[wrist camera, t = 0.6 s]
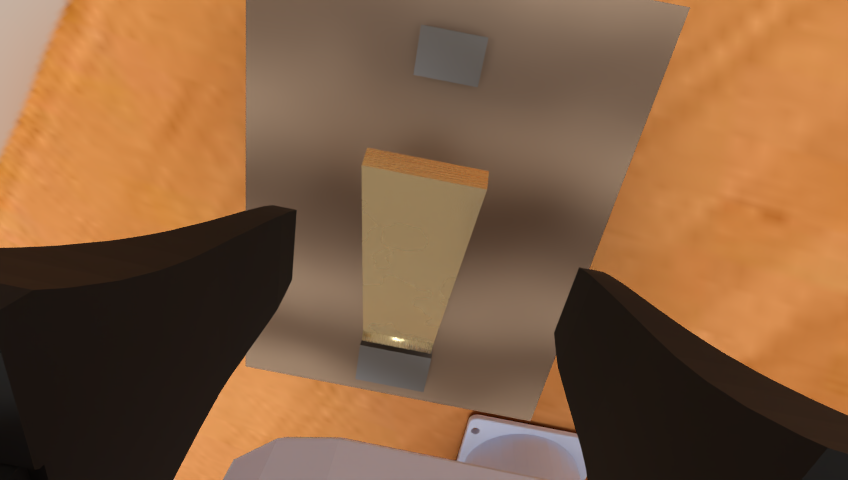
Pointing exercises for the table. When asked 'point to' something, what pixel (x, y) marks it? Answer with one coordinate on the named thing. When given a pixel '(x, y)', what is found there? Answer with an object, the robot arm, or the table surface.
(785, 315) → the table surface
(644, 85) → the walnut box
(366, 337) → the hasp
